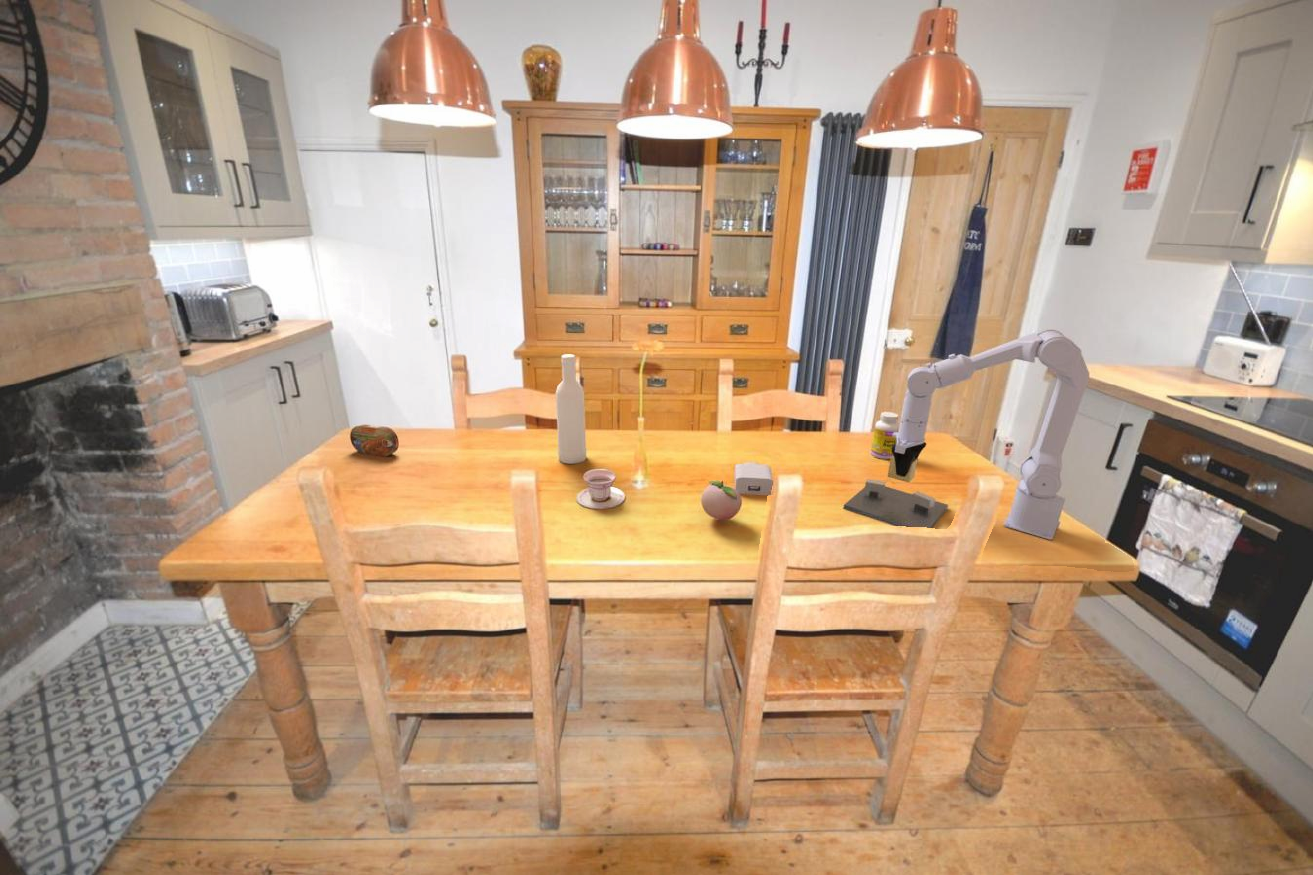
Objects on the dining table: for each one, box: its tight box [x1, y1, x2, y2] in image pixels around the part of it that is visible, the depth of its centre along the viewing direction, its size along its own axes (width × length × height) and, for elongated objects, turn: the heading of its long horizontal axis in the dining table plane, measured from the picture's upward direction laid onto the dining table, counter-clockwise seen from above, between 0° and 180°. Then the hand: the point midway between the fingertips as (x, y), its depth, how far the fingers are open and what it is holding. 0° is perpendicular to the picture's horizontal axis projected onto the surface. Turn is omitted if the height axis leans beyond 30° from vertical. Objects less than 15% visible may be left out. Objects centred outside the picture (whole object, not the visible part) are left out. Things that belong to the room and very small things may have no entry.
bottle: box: [555, 353, 587, 465], centre depth 157 cm, size 8×8×30 cm
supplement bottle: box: [870, 411, 900, 460], centre depth 166 cm, size 7×7×13 cm
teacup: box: [576, 468, 626, 510], centre depth 139 cm, size 12×12×6 cm
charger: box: [734, 461, 774, 496], centre depth 149 cm, size 5×9×15 cm
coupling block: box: [887, 456, 919, 483], centre depth 137 cm, size 5×4×5 cm
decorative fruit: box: [700, 479, 743, 522], centre depth 128 cm, size 9×8×10 cm
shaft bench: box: [843, 478, 949, 529], centre depth 136 cm, size 19×17×4 cm
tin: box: [349, 424, 400, 457], centre depth 163 cm, size 15×3×8 cm, turn 73°
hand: (904, 472), depth 137 cm, fingers closed on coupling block, 4 cm apart
